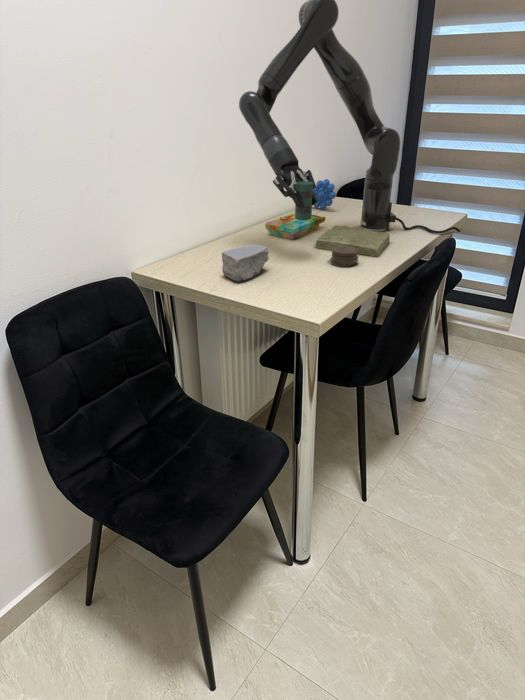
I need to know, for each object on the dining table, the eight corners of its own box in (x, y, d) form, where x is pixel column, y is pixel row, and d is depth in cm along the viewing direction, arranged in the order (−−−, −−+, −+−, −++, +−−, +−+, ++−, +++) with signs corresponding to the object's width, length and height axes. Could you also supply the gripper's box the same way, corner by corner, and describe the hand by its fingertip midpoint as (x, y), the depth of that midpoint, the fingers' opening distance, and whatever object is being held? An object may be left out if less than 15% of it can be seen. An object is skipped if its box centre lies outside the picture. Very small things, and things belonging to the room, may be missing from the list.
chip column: (309, 215, 153) (311, 180, 148) (312, 220, 148) (314, 184, 144) (293, 216, 152) (294, 181, 147) (296, 220, 148) (297, 184, 143)
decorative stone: (216, 281, 139) (249, 285, 135) (214, 256, 135) (248, 259, 132) (240, 265, 150) (271, 268, 147) (238, 241, 147) (271, 244, 144)
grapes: (340, 210, 207) (342, 179, 201) (330, 213, 202) (332, 181, 197) (316, 205, 214) (318, 175, 208) (306, 208, 209) (308, 177, 203)
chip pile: (353, 258, 155) (354, 245, 153) (360, 266, 148) (362, 253, 146) (327, 259, 154) (328, 246, 152) (334, 268, 147) (335, 254, 146)
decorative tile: (376, 257, 156) (378, 245, 154) (314, 247, 164) (315, 236, 162) (392, 241, 170) (393, 230, 169) (334, 233, 178) (335, 222, 177)
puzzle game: (265, 221, 174) (297, 209, 188) (265, 234, 176) (297, 222, 190) (294, 226, 168) (325, 214, 182) (294, 241, 170) (324, 227, 184)
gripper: (267, 149, 142) (298, 201, 140) (304, 144, 150) (332, 193, 148) (255, 166, 148) (283, 217, 146) (290, 161, 156) (318, 208, 154)
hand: (308, 204), depth 147 cm, fingers closed on chip column, 5 cm apart
